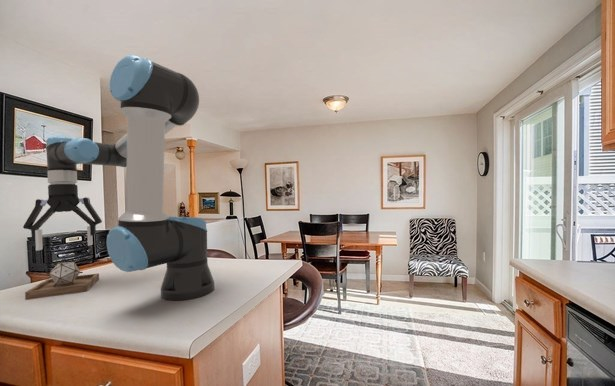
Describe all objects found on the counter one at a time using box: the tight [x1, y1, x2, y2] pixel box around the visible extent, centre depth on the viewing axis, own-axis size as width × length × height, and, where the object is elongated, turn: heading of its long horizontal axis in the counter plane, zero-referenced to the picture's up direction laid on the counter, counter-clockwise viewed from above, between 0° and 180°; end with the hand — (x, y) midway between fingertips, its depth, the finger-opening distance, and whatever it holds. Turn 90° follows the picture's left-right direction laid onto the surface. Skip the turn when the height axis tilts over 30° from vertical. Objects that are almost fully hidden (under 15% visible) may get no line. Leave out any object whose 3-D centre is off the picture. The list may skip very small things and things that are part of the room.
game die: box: [45, 259, 83, 287], centre depth 96 cm, size 9×8×10 cm
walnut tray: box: [24, 273, 100, 300], centre depth 96 cm, size 15×15×2 cm
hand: (65, 247), depth 96 cm, fingers open, 13 cm apart
